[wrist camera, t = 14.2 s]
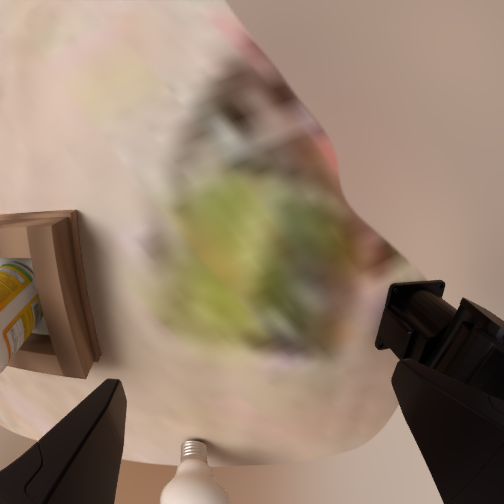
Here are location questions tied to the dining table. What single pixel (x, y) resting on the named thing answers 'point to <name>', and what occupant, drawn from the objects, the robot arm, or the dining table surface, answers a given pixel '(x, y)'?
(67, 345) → the pocket block
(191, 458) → the lightbulb
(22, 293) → the supplement bottle
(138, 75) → the dining table surface
